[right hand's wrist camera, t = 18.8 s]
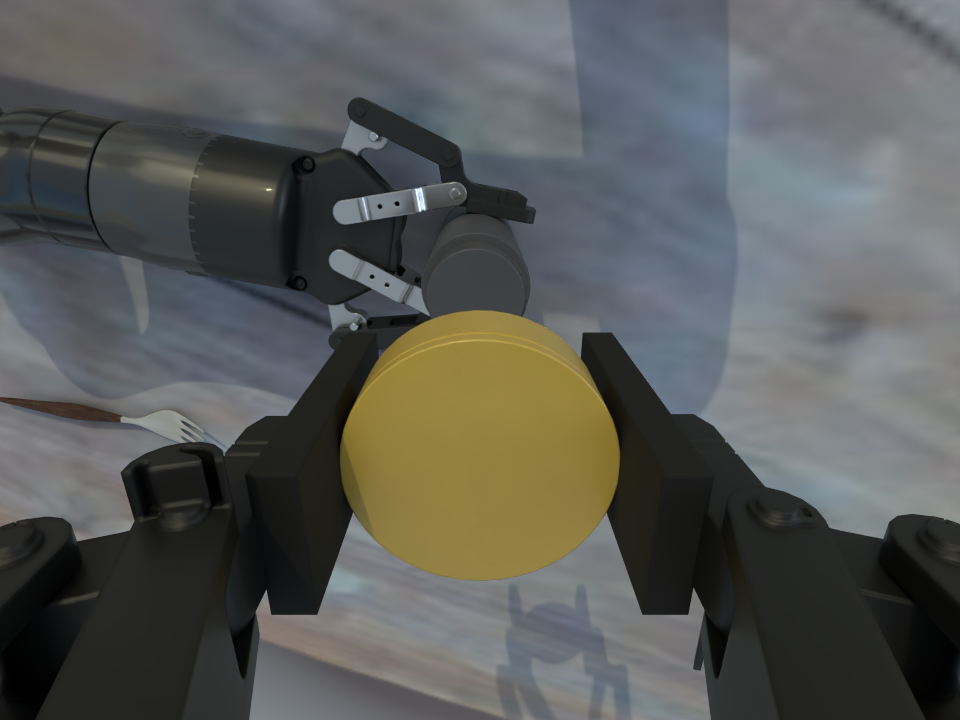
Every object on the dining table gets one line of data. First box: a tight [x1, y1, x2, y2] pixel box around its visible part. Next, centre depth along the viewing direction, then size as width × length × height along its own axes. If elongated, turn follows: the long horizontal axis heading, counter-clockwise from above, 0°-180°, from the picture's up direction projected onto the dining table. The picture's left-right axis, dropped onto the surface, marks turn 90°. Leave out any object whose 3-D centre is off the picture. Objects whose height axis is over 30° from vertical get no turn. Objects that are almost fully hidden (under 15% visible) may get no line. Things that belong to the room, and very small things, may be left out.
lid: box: [339, 310, 620, 580], centre depth 11 cm, size 5×5×2 cm
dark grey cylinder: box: [421, 206, 530, 319], centre depth 29 cm, size 5×5×16 cm
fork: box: [0, 397, 205, 443], centre depth 40 cm, size 3×16×2 cm, turn 78°
